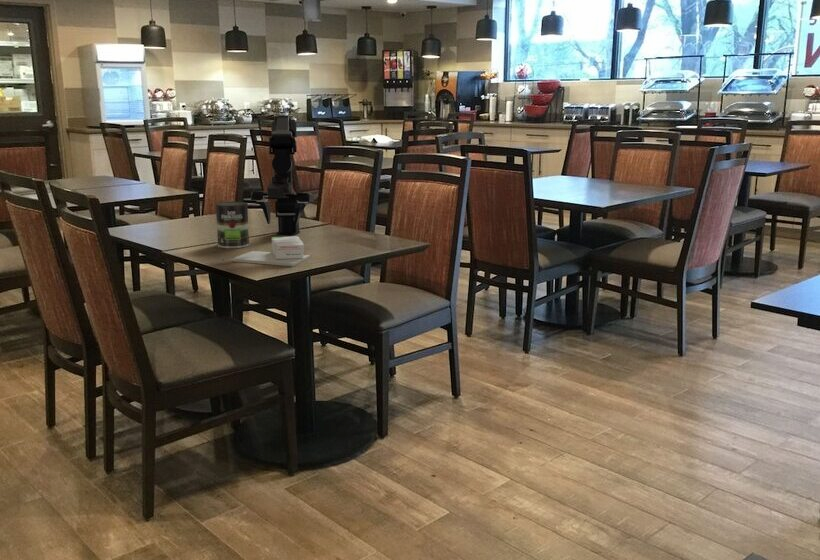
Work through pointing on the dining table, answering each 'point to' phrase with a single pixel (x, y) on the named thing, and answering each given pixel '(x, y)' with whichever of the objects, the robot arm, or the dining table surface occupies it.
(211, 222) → the dining table surface
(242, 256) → the mat
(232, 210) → the coffee can
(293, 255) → the ink box
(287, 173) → the robot arm
